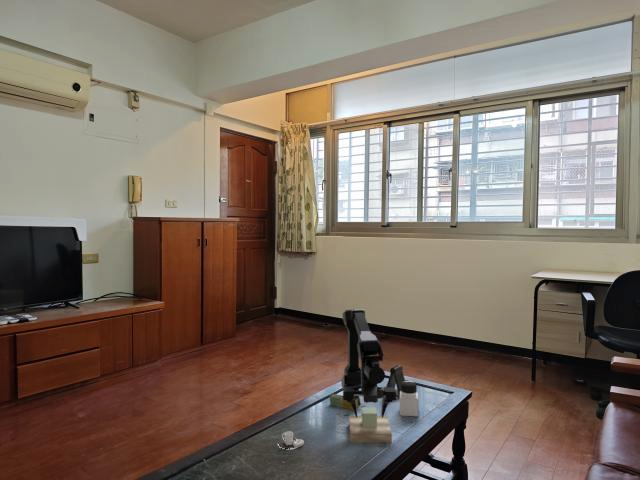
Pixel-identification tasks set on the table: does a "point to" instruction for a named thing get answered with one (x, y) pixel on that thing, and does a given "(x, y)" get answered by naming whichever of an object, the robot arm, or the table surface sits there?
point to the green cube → (369, 417)
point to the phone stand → (396, 378)
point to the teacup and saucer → (291, 440)
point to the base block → (370, 430)
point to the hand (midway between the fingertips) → (369, 417)
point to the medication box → (341, 401)
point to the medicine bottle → (408, 399)
